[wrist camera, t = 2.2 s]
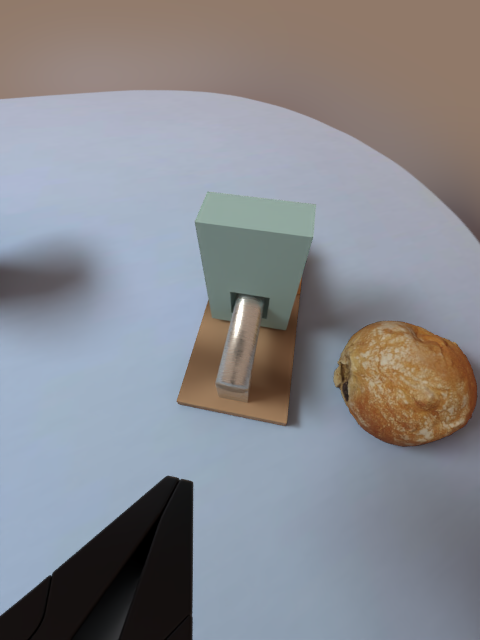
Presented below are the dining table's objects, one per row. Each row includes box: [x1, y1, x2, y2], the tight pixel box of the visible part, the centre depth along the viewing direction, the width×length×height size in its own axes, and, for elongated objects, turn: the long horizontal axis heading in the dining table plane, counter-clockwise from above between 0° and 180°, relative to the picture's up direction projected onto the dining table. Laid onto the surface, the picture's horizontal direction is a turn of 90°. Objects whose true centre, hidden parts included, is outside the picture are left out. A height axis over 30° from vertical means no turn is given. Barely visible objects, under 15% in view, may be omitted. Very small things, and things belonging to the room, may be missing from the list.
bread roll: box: [334, 321, 477, 446], centre depth 22 cm, size 10×10×8 cm
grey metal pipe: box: [215, 293, 265, 403], centre depth 25 cm, size 18×3×5 cm, turn 169°
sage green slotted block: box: [195, 192, 316, 330], centre depth 21 cm, size 3×7×11 cm, turn 79°
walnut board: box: [177, 277, 302, 426], centre depth 27 cm, size 19×9×1 cm, turn 169°
